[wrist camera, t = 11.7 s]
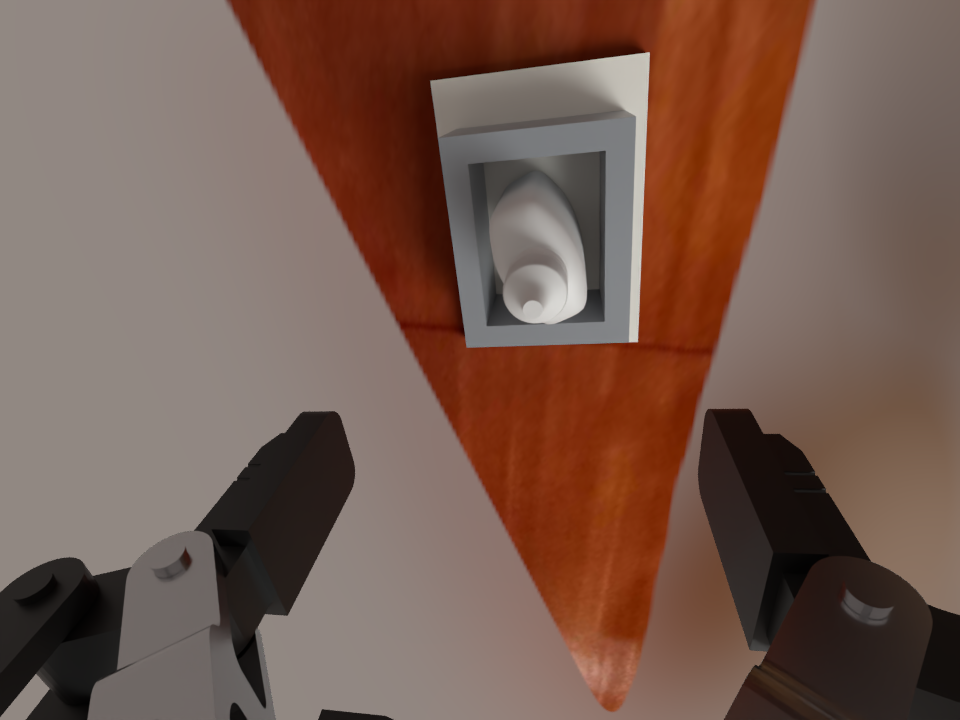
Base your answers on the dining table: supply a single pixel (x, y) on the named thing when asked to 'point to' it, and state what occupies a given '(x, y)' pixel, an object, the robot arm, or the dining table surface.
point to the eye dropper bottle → (538, 251)
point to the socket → (564, 159)
